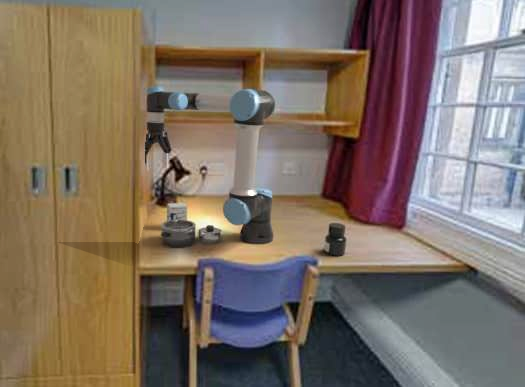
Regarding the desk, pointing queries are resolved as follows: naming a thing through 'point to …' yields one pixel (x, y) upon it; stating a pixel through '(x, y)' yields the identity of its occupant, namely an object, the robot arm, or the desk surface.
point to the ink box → (176, 211)
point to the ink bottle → (335, 240)
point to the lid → (209, 235)
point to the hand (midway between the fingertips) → (155, 168)
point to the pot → (178, 233)
